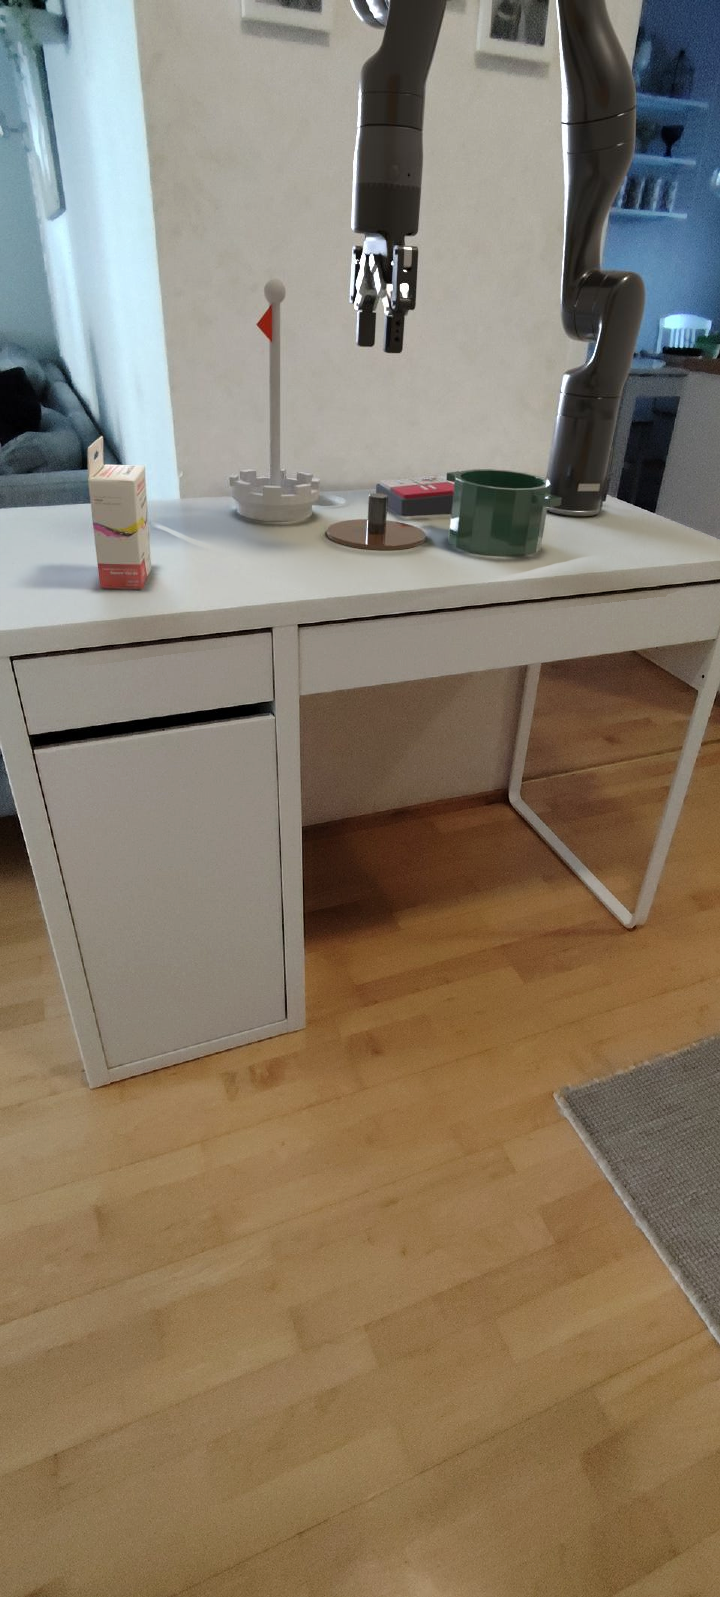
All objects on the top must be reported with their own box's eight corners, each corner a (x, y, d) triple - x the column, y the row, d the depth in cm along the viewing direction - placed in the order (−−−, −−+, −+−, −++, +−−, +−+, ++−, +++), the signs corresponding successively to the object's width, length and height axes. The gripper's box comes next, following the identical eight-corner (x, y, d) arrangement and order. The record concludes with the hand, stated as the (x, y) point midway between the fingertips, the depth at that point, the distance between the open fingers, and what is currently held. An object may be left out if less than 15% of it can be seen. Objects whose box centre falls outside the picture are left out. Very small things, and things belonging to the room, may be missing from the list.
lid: (379, 523, 124) (381, 480, 121) (445, 545, 116) (450, 500, 113) (306, 535, 116) (307, 490, 113) (371, 560, 108) (374, 512, 105)
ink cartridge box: (144, 590, 94) (132, 450, 86) (99, 589, 93) (82, 448, 86) (154, 567, 101) (143, 435, 93) (111, 566, 101) (97, 434, 93)
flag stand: (255, 501, 132) (252, 276, 116) (332, 512, 128) (339, 282, 112) (214, 518, 122) (204, 274, 106) (296, 531, 118) (298, 280, 102)
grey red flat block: (375, 478, 133) (460, 471, 138) (374, 506, 135) (458, 498, 140) (403, 494, 124) (492, 485, 129) (402, 524, 127) (490, 514, 131)
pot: (475, 526, 125) (483, 462, 121) (574, 556, 114) (586, 487, 110) (415, 538, 118) (421, 470, 113) (514, 571, 107) (525, 498, 102)
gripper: (446, 182, 88) (432, 356, 97) (393, 189, 99) (384, 345, 108) (380, 175, 85) (371, 355, 94) (333, 183, 97) (328, 343, 105)
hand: (378, 349), depth 101 cm, fingers open, 8 cm apart
